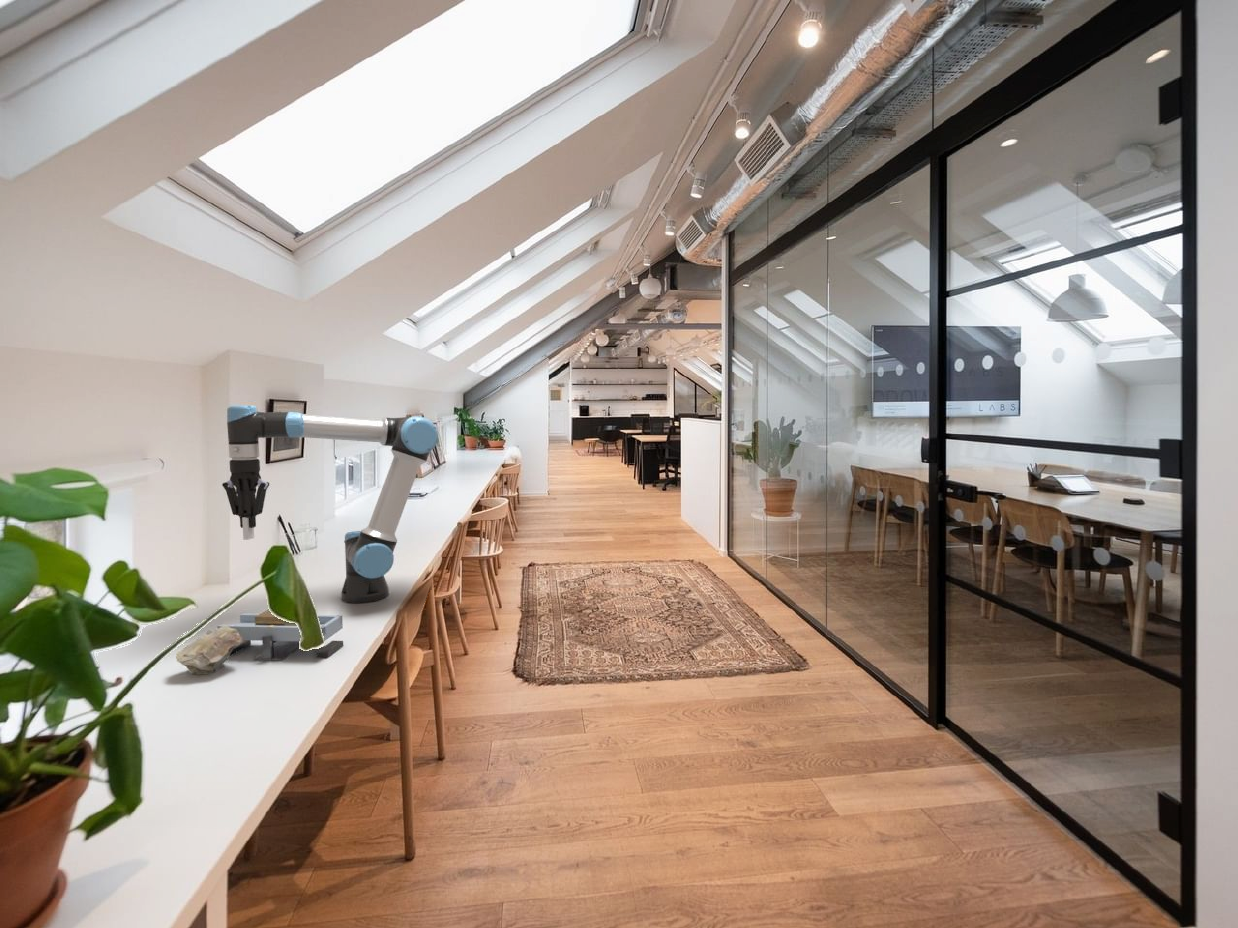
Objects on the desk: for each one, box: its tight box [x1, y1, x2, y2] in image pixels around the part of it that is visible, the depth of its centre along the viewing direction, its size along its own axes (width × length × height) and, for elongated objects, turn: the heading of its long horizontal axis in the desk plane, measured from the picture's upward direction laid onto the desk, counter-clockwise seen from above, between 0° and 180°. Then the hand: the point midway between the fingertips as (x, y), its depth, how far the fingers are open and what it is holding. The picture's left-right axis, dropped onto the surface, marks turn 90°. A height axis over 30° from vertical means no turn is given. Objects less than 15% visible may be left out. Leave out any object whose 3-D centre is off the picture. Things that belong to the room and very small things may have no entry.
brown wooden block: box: [255, 609, 296, 626], centre depth 164 cm, size 6×8×4 cm
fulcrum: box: [229, 636, 344, 662], centre depth 164 cm, size 14×29×6 cm, turn 87°
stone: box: [175, 626, 243, 675], centre depth 151 cm, size 11×14×10 cm
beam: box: [217, 613, 344, 642], centre depth 164 cm, size 12×28×4 cm, turn 87°
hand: (248, 538), depth 181 cm, fingers closed
